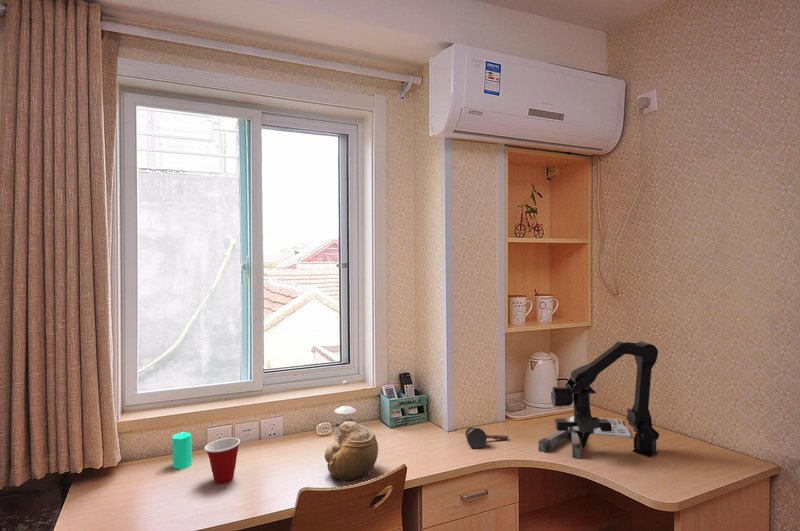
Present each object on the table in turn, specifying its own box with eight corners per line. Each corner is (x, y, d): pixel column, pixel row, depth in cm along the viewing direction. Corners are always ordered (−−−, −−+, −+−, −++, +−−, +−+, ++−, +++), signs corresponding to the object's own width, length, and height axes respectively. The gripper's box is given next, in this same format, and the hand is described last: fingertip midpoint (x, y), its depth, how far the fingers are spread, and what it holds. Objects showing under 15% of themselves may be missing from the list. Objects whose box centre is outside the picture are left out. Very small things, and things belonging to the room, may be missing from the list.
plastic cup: (208, 474, 161) (207, 438, 161) (242, 471, 164) (241, 435, 164) (201, 489, 151) (201, 450, 151) (238, 485, 153) (238, 447, 153)
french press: (328, 450, 181) (327, 383, 180) (339, 439, 192) (339, 375, 192) (353, 453, 178) (352, 384, 178) (363, 441, 190) (362, 377, 189)
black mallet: (466, 448, 181) (461, 443, 189) (513, 452, 182) (506, 447, 191) (468, 427, 182) (462, 423, 190) (515, 431, 183) (507, 427, 192)
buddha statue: (332, 461, 171) (333, 411, 172) (381, 464, 170) (382, 414, 170) (316, 486, 152) (317, 430, 152) (371, 490, 150) (372, 433, 150)
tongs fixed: (565, 435, 194) (565, 422, 194) (575, 437, 191) (575, 425, 191) (538, 450, 179) (538, 437, 179) (549, 453, 176) (549, 440, 176)
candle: (173, 463, 170) (172, 429, 170) (192, 460, 173) (191, 426, 172) (172, 470, 165) (171, 434, 165) (191, 467, 167) (190, 432, 167)
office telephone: (568, 427, 198) (567, 412, 217) (568, 434, 198) (567, 418, 217) (631, 432, 191) (624, 416, 210) (631, 439, 191) (624, 422, 210)
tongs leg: (570, 439, 189) (570, 430, 189) (578, 439, 188) (578, 430, 188) (572, 457, 172) (572, 447, 172) (580, 458, 171) (580, 448, 171)
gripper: (558, 411, 170) (560, 456, 170) (615, 412, 167) (617, 457, 167) (553, 402, 181) (555, 444, 181) (606, 403, 178) (608, 445, 178)
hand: (583, 448), depth 177 cm, fingers closed
